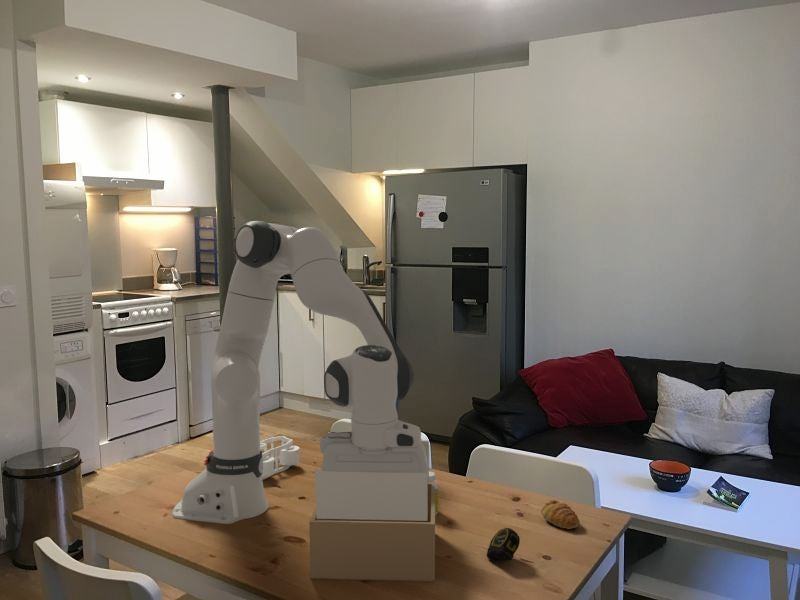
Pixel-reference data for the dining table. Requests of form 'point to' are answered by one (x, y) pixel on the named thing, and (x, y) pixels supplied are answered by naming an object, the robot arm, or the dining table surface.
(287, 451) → the wheeled car silhouette
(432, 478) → the supplement bottle
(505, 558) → the tape measure
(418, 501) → the near flap
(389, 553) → the carton
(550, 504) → the pastry
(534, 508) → the dining table surface
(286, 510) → the dining table surface
